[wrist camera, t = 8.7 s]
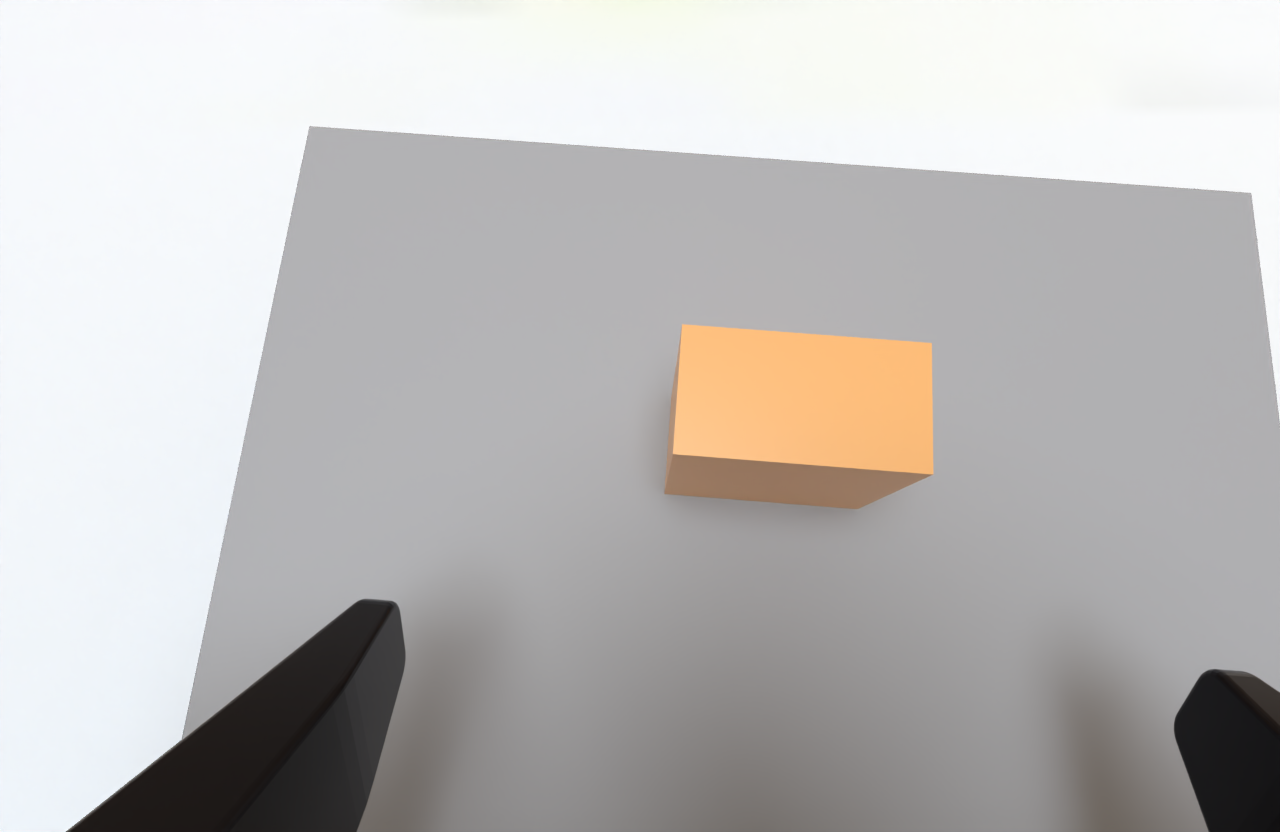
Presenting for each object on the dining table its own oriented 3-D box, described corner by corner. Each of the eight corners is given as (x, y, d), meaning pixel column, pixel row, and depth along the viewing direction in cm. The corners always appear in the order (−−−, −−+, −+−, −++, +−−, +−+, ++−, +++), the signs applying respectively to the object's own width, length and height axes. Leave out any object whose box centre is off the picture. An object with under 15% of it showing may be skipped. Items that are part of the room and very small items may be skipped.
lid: (1316, 1003, 11) (1663, 1207, 7) (170, 901, 11) (-60, 1044, 8) (1225, 210, 14) (1437, 66, 10) (323, 146, 14) (211, -17, 10)
